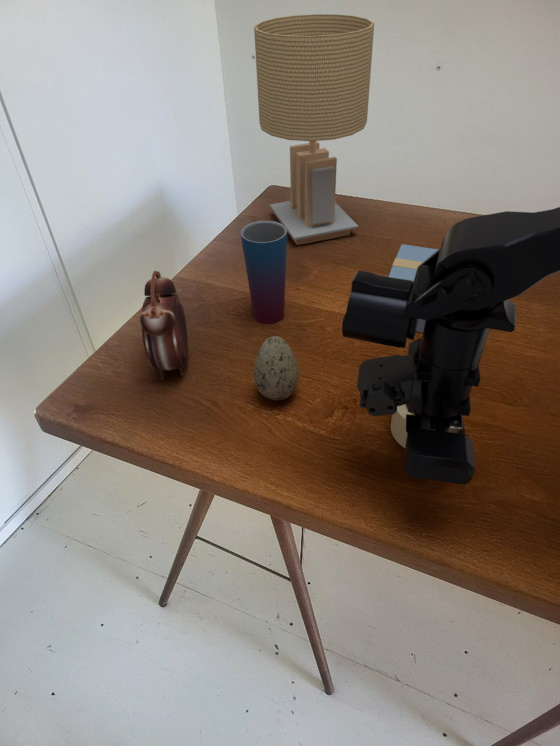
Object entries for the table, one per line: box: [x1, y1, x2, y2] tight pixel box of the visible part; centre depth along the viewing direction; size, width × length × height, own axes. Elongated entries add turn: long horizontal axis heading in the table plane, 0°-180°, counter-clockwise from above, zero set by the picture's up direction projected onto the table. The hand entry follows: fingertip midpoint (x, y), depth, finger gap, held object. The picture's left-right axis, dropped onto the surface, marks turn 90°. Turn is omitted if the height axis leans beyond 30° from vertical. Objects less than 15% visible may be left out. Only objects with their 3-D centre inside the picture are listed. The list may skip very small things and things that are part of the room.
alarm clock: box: [139, 270, 189, 381], centre depth 72 cm, size 11×5×15 cm, turn 5°
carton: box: [387, 243, 439, 334], centre depth 82 cm, size 12×12×8 cm
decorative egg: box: [253, 335, 300, 401], centre depth 68 cm, size 6×6×10 cm
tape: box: [390, 404, 415, 449], centre depth 65 cm, size 8×8×5 cm
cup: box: [240, 220, 288, 325], centre depth 81 cm, size 7×7×15 cm
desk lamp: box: [253, 13, 375, 246], centre depth 96 cm, size 20×20×35 cm
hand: (424, 453), depth 61 cm, fingers closed
